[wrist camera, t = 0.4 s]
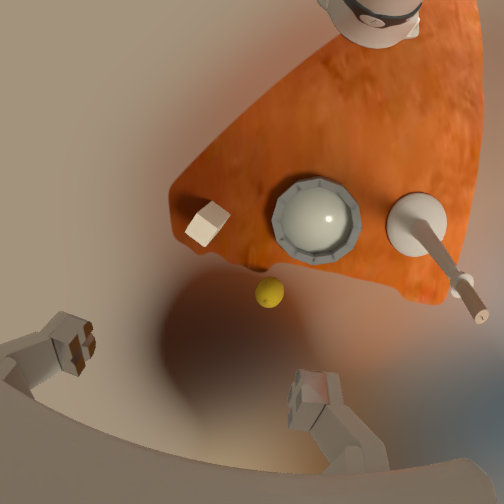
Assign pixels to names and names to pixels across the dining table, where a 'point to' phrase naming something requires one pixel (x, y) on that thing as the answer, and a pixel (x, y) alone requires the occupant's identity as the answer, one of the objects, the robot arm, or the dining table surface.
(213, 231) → the block
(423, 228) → the candlestick
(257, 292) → the lemon
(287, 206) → the dish
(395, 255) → the dining table surface
